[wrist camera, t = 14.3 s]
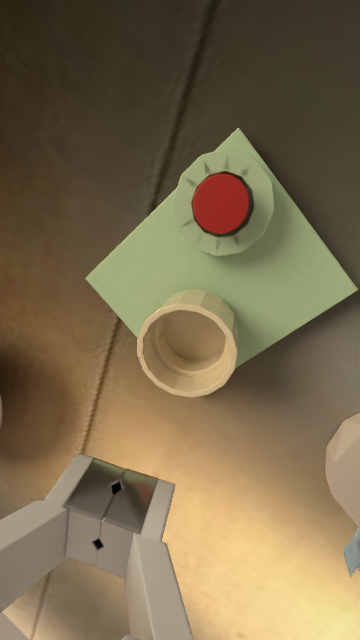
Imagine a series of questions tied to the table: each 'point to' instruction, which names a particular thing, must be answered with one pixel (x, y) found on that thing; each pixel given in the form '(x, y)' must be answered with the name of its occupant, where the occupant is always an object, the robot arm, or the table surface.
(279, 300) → the green base plate
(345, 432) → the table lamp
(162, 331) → the beige cup
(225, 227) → the button
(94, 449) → the table surface
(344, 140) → the table surface
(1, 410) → the dish
